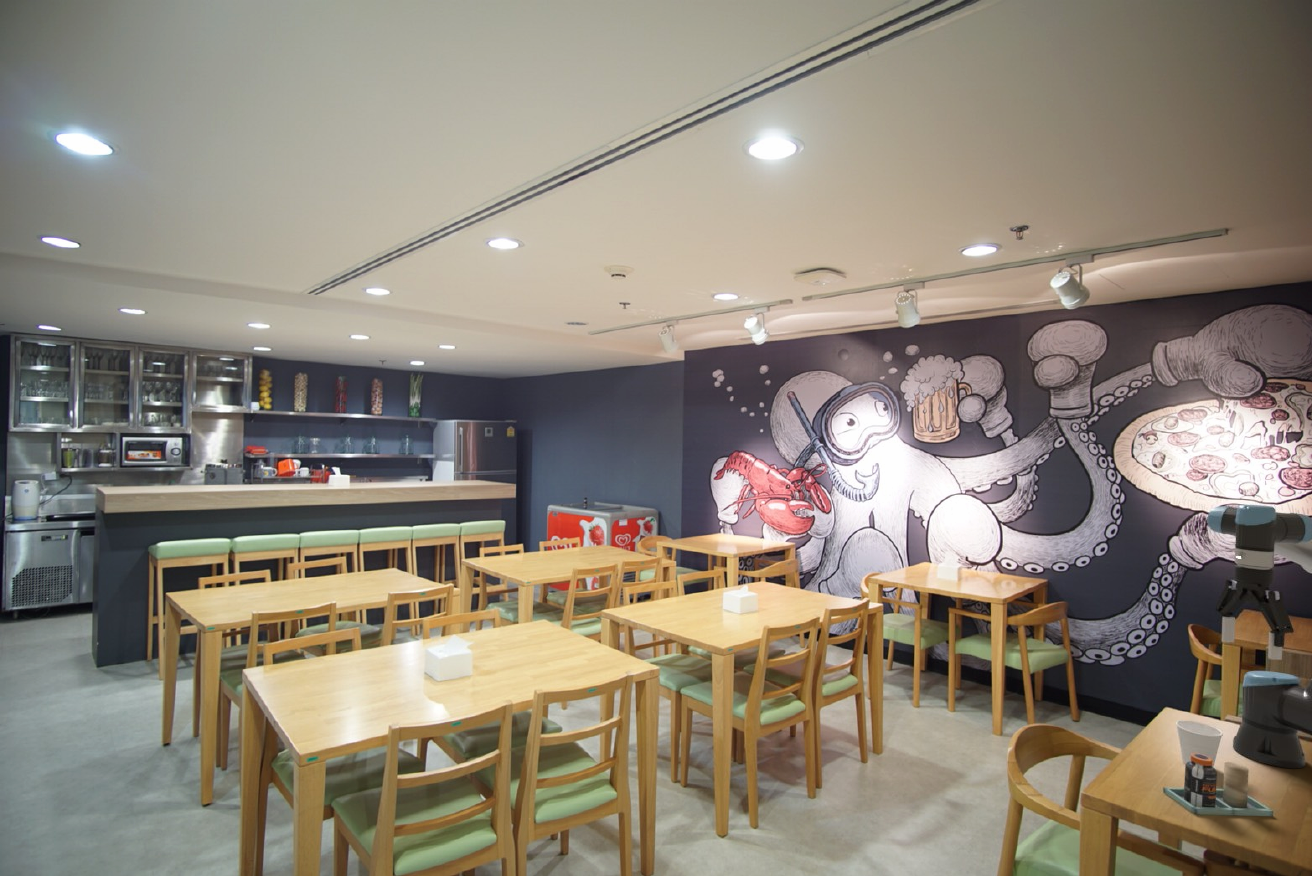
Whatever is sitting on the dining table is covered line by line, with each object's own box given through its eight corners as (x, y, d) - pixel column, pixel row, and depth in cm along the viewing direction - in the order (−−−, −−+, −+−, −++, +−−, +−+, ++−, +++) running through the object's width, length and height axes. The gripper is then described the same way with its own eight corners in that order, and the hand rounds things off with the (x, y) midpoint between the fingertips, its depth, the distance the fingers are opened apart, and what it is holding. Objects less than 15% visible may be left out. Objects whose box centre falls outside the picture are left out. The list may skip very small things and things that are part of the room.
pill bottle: (1205, 812, 159) (1207, 763, 159) (1177, 799, 165) (1179, 752, 165) (1221, 807, 162) (1223, 760, 161) (1193, 795, 167) (1195, 748, 167)
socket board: (1237, 798, 168) (1238, 789, 168) (1273, 820, 159) (1273, 810, 159) (1162, 796, 168) (1163, 787, 168) (1193, 818, 159) (1194, 808, 159)
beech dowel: (1236, 799, 166) (1237, 762, 166) (1252, 809, 161) (1253, 771, 161) (1218, 798, 166) (1219, 761, 166) (1233, 808, 161) (1235, 770, 161)
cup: (1230, 780, 177) (1231, 738, 177) (1186, 775, 179) (1188, 733, 179) (1207, 762, 187) (1209, 722, 187) (1166, 757, 189) (1168, 718, 189)
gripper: (1199, 556, 186) (1196, 635, 186) (1284, 576, 161) (1280, 666, 161) (1227, 557, 186) (1224, 635, 186) (1316, 577, 161) (1312, 667, 161)
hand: (1250, 650), depth 174 cm, fingers open, 13 cm apart
